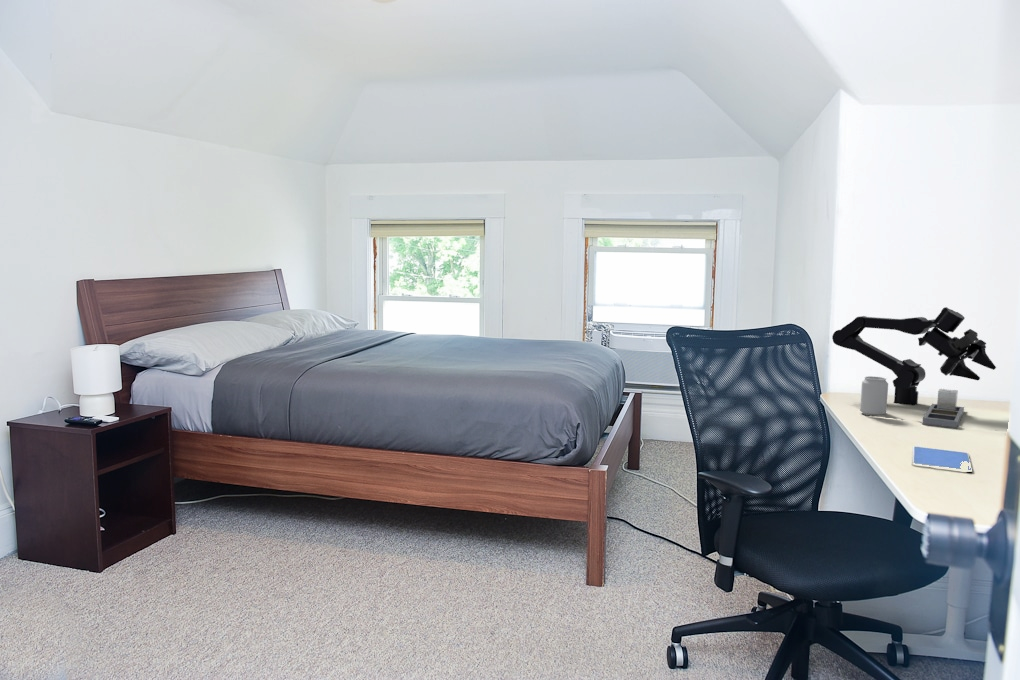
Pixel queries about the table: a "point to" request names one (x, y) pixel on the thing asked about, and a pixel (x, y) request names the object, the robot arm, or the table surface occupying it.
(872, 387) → the can
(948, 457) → the tablet computer
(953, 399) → the metal block
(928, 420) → the gray compartment tray
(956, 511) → the table surface
